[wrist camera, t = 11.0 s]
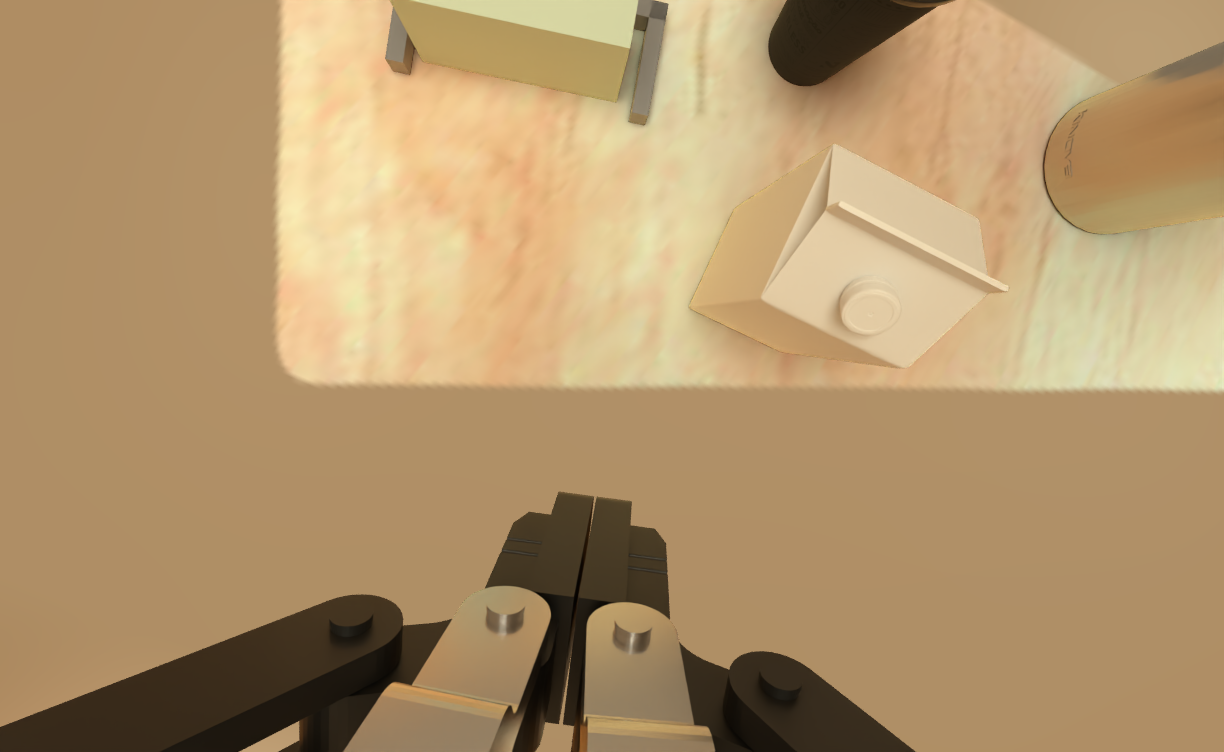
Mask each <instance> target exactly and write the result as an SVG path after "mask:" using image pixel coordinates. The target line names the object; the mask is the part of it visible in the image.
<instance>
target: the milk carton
mask: <svg viewBox="0 0 1224 752" xmlns="http://www.w3.org/2000/svg"><path fill="white" fill-rule="evenodd" d="M1008 290H1009V286H1007V285H1005V284H1003V283H1001V282H999V281H997V280H995V279H993V278H991V277H989V276H988V273H987V266H986V260H985V254H984V247H983V241H982V235H981V228H980V222H979V219H978V218H976V217H974V216H973V215H971V214H969V213H967V212H965V211H963V210H962V209H960V208H958V207H956V206H954V205H952V204H950V203H948V202H946V201H944V200H943V199H941V198H939V197H937V196H935V195H933V194H931V193H929V192H927V191H925V190H923V189H921V188H920V187H918V186H916V185H914V184H912V183H910V182H908V181H906V180H904V179H902V178H900V177H899V176H897V175H895V174H893V173H891V172H889V171H887V170H885V169H883V168H881V167H879V166H878V165H876V164H874V163H872V162H870V161H868V160H866V159H864V158H862V157H860V156H858V155H857V154H855V153H853V152H851V151H849V150H847V149H845V148H843V147H841V146H839V145H837V144H834V143H833V144H832V145H831V146H829V147H828V148H826V149H825V150H823V151H822V152H820V153H818V154H817V155H815V156H814V157H812V158H811V159H809V160H808V161H806V162H805V163H803V164H802V165H800V166H799V167H797V168H795V169H794V170H792V171H791V172H789V173H788V174H786V175H785V176H783V177H782V178H780V179H779V180H777V181H775V182H774V183H772V184H771V185H769V186H768V187H766V188H765V189H763V190H762V191H760V192H759V193H757V194H755V195H754V196H752V197H751V198H749V199H748V200H746V201H745V202H743V203H742V204H740V205H739V206H737V207H736V208H735V209H734V211H733V213H732V215H731V217H730V219H729V221H728V223H727V226H726V228H725V230H724V232H723V234H722V236H721V238H720V241H719V243H718V245H717V247H716V249H715V251H714V254H713V256H712V258H711V260H710V262H709V264H708V266H707V269H706V271H705V273H704V275H703V277H702V279H701V281H700V284H699V286H698V288H697V290H696V292H695V294H694V296H693V299H692V301H691V303H690V305H689V308H691V309H692V310H694V311H696V312H698V313H700V314H702V315H704V316H706V317H708V318H710V319H713V320H715V321H717V322H719V323H721V324H723V325H725V326H727V327H729V328H731V329H734V330H736V331H738V332H740V333H742V334H744V335H746V336H748V337H750V338H752V339H755V340H757V341H759V342H761V343H763V344H765V345H767V346H769V347H771V348H773V349H776V350H778V351H780V352H784V353H790V354H797V355H805V356H812V357H819V358H826V359H834V360H841V361H848V362H855V363H863V364H870V365H877V366H884V367H892V368H908V367H910V366H911V365H912V364H913V363H914V362H915V361H916V360H917V359H918V358H919V357H921V356H922V355H923V354H924V353H925V352H926V351H927V350H928V349H929V348H930V347H931V346H932V345H933V344H935V343H936V342H937V341H938V340H939V339H940V338H941V337H942V336H943V335H944V334H945V333H946V332H947V331H949V330H950V329H951V328H952V327H953V326H954V325H955V324H956V323H957V322H958V321H959V320H960V319H961V318H963V317H964V316H965V315H966V314H967V313H968V312H969V311H970V310H971V309H972V308H973V307H974V306H976V305H977V304H978V303H979V302H980V301H981V300H982V299H983V298H984V297H985V296H986V295H987V294H988V293H1000V292H1008Z"/></svg>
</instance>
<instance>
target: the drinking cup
mask: <svg viewBox="0 0 1224 752" xmlns="http://www.w3.org/2000/svg"><path fill="white" fill-rule="evenodd" d="M953 1H955V0H787V1H786V3H785V5H784V7H783V9H782V11H781V13H780V15H779V17H778V19H777V21H776V23H775V25H774V27H773V29H772V31H771V34H770V38H769V55H770V59H771V62H772V64H773V66H774V68H775V69H776V71H777V72H778V73H779V74H780V75H781V76H782V77H783V78H784V79H785V80H787V81H789V82H790V83H793V84H796V85H800V86H812V85H816V84H819V83H821V82H823V81H824V80H826V79H828V78H829V77H831V76H832V75H834V74H835V73H837V72H838V71H840V70H841V69H843V68H844V67H846V66H847V65H849V64H850V63H852V62H853V61H855V60H856V59H858V58H860V57H861V56H863V55H864V54H866V53H867V52H869V51H870V50H872V49H873V48H875V47H876V46H878V45H879V44H881V43H882V42H884V41H885V40H887V39H888V38H890V37H892V36H893V35H895V34H896V33H898V32H899V31H901V30H902V29H904V28H905V27H907V26H908V25H910V24H911V23H913V22H914V21H916V20H917V19H919V18H920V17H922V16H924V15H925V14H927V13H928V12H930V11H931V10H933V9H934V8H936V7H937V6H940V5H944V4H947V3H950V2H953Z"/></svg>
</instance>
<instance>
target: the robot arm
mask: <svg viewBox="0 0 1224 752" xmlns="http://www.w3.org/2000/svg"><path fill="white" fill-rule="evenodd" d="M1044 167H1045V181H1046V184H1047V188H1048V192H1049V195H1050V197H1051V199H1052V201H1053V203H1054V205H1055V207H1056V208H1057V209H1058V210H1059V212H1060V213H1061V214H1062V215H1063V216H1064V218H1066V219H1067V220H1068V221H1069V222H1071V223H1072V224H1073V225H1075V226H1076V227H1078V228H1081V229H1083V230H1085V231H1087V232H1092V233H1097V234H1116V233H1122V232H1128V231H1134V230H1141V229H1147V228H1153V227H1160V226H1166V225H1173V224H1180V223H1186V222H1192V221H1198V220H1204V219H1211V218H1217V217H1223V216H1224V42H1222V43H1219V44H1217V45H1215V46H1212V47H1210V48H1208V49H1205V50H1203V51H1200V52H1198V53H1196V54H1193V55H1191V56H1189V57H1186V58H1184V59H1181V60H1179V61H1177V62H1175V63H1172V64H1170V65H1167V66H1165V67H1162V68H1160V69H1158V70H1155V71H1153V72H1151V73H1148V74H1146V75H1143V76H1141V77H1139V78H1136V79H1134V80H1131V81H1129V82H1127V83H1124V84H1122V85H1119V86H1117V87H1115V88H1112V89H1110V90H1108V91H1105V92H1103V93H1101V94H1098V95H1096V96H1093V97H1091V98H1089V99H1087V100H1085V101H1083V102H1081V103H1079V104H1078V105H1076V106H1075V107H1074V108H1072V109H1071V110H1070V111H1069V112H1067V114H1066V115H1065V116H1064V117H1063V118H1062V119H1061V121H1060V122H1059V123H1058V125H1057V126H1056V128H1055V130H1054V132H1053V134H1052V135H1051V138H1050V141H1049V144H1048V147H1047V150H1046V157H1045V164H1044ZM593 500H594V497H593V496H587V495H580V494H572V493H565V492H558V495H557V498H556V501H555V504H554V508H553V510H552V514H551V515H548V514H541V513H534V512H528V513H527V514H526V515H524V516H523V517H521V518H520V519H518V520H517V521H515V522H514V523H513V525H512V528H511V530H510V532H509V534H508V537H507V540H506V542H505V544H504V546H503V548H502V552H501V553H500V555H499V557H498V559H497V562H496V564H495V567H494V569H493V571H492V573H491V575H490V578H489V580H488V582H487V585H486V587H485V589H482V590H480V591H477V592H475V593H473V594H472V595H470V596H469V597H468V598H466V599H465V600H464V602H463V603H462V604H461V606H460V608H459V609H458V611H457V612H456V614H455V616H454V617H453V619H450V620H447V621H442V622H438V623H429V624H418V625H404V626H403V616H402V612H401V610H400V609H399V608H398V607H397V605H396V604H394V603H393V602H391V601H389V600H387V599H385V598H382V597H379V596H373V595H349V596H343V597H339V598H335V599H332V600H329V601H326V602H324V603H322V604H319V605H316V606H313V607H311V608H308V609H306V610H303V611H301V612H298V613H295V614H293V615H290V616H287V617H285V618H282V619H280V620H277V621H275V622H272V623H269V624H267V625H264V626H261V627H259V628H256V629H254V630H251V631H248V632H246V633H243V634H241V635H238V636H236V637H233V638H230V639H228V640H225V641H223V642H220V643H218V644H215V645H212V646H210V647H207V648H205V649H202V650H199V651H197V652H194V653H191V654H189V655H186V656H184V657H181V658H178V659H176V660H173V661H171V662H168V663H165V664H163V665H160V666H158V667H155V668H152V669H150V670H147V671H145V672H142V673H140V674H137V675H134V676H132V677H129V678H126V679H124V680H121V681H119V682H116V683H113V684H111V685H108V686H106V687H103V688H101V689H98V690H96V691H93V692H90V693H88V694H85V695H82V696H80V697H77V698H75V699H72V700H70V701H67V702H64V703H62V704H59V705H57V706H54V707H51V708H49V709H46V710H43V711H41V712H38V713H36V714H33V715H30V716H28V717H25V718H23V719H20V720H18V721H15V722H12V723H10V724H7V725H5V726H2V727H0V752H239V751H241V750H243V749H245V748H247V747H249V746H251V745H253V744H255V743H257V742H259V741H261V740H263V739H265V738H266V737H268V736H270V735H272V734H274V733H276V732H278V731H280V730H282V729H284V728H286V727H288V726H290V725H292V724H294V723H296V722H298V721H299V739H300V740H299V741H297V742H296V743H294V744H292V745H290V746H288V747H286V748H284V749H282V750H281V751H279V752H536V750H537V748H538V747H539V745H540V742H541V738H542V734H543V730H544V725H545V722H548V723H555V724H559V720H560V714H561V709H562V703H563V697H564V692H565V686H566V680H567V675H568V669H569V663H570V670H569V679H568V688H567V696H566V704H565V713H564V720H563V724H564V725H571V726H574V732H573V739H572V748H571V752H915V751H914V750H913V749H911V748H910V747H909V746H907V745H906V744H905V743H904V742H902V741H901V740H900V739H899V738H897V737H896V736H895V735H894V734H892V733H891V732H890V731H888V730H887V729H886V728H885V727H883V726H882V725H881V724H879V723H878V722H877V721H876V720H874V719H873V718H872V717H871V716H869V715H868V714H867V713H865V712H864V711H863V710H862V709H860V708H859V707H858V706H857V705H855V704H854V703H852V702H851V701H850V700H849V699H848V698H846V697H845V696H843V695H842V694H841V693H840V692H839V691H837V690H836V689H835V688H834V687H832V686H831V685H830V684H828V683H827V682H826V681H824V680H823V679H822V678H821V677H819V676H818V675H817V674H816V673H814V672H813V671H812V670H810V669H809V668H808V667H806V666H805V665H803V664H801V663H800V662H798V661H796V660H794V659H792V658H789V657H787V656H784V655H781V654H777V653H772V652H764V651H762V652H761V651H760V652H750V653H747V654H743V655H741V656H739V657H738V658H737V659H735V660H734V662H733V663H732V665H731V666H730V670H728V669H726V668H723V667H721V666H718V665H715V664H713V663H710V662H708V661H705V660H703V659H701V658H699V657H697V656H696V655H694V654H692V653H691V652H690V651H688V650H687V649H686V648H685V647H683V646H682V645H681V644H680V642H679V639H678V634H677V630H676V628H675V626H674V625H673V623H672V622H671V621H670V611H669V593H668V575H667V562H666V561H667V555H666V543H665V542H664V540H663V539H662V538H661V536H660V535H659V534H658V532H657V531H656V530H655V529H652V528H645V527H638V526H630V520H631V505H632V502H631V501H625V500H617V499H609V498H603V497H597V499H596V503H595V509H594V514H593V520H592V525H591V518H592V509H593ZM590 526H591V531H590ZM589 534H590V536H589ZM571 652H572V654H571ZM570 658H571V662H570Z"/></svg>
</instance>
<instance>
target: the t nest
mask: <svg viewBox="0 0 1224 752" xmlns="http://www.w3.org/2000/svg"><path fill="white" fill-rule="evenodd" d="M667 9H668V4H667V3H663V2H659V1H654V0H638V6H637V11H636V17H635V23H634V29H638V30H643V31H645V34H644V39H643V45H642V50H641V56H640V62H639V67H638V73H637V78H636V84H635V90H634V95H633V101H632V106H631V112H630V117H629V122H632V123H637V124H641V125H645V122H646V120H647V118H648V114H649V109H650V103H651V98H652V92H653V87H654V81H655V76H656V70H657V65H658V59H659V54H660V48H661V42H662V37H663V31H664V26H665V20H666V15H667ZM413 52H414V44H413V43H412V41H411V39H410V37H409V35H408V33H407V31H406V30H405V28H404V26H403V24H402V22H401V20H400V18H399V16H398V15H397V13H396V11H395V9H394V7H393V11H392V18H391V24H390V31H389V38H388V44H387V51H386V57H385V59H386V61H387V62H388V64H389V65H390V67H391V68H392V70H393V71H395V72H400V73H404V74H409V75H410V72H411V65H412V59H413Z"/></svg>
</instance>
